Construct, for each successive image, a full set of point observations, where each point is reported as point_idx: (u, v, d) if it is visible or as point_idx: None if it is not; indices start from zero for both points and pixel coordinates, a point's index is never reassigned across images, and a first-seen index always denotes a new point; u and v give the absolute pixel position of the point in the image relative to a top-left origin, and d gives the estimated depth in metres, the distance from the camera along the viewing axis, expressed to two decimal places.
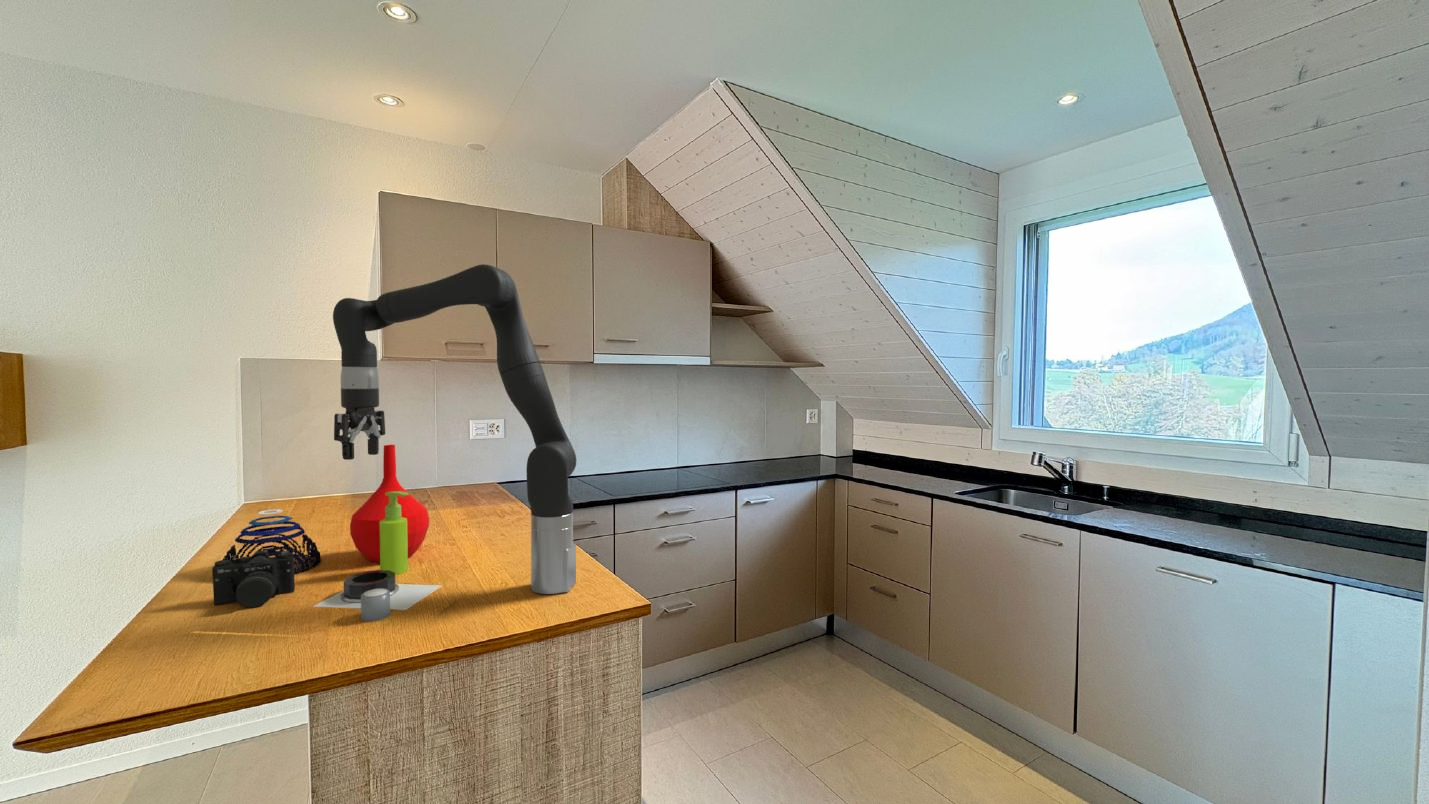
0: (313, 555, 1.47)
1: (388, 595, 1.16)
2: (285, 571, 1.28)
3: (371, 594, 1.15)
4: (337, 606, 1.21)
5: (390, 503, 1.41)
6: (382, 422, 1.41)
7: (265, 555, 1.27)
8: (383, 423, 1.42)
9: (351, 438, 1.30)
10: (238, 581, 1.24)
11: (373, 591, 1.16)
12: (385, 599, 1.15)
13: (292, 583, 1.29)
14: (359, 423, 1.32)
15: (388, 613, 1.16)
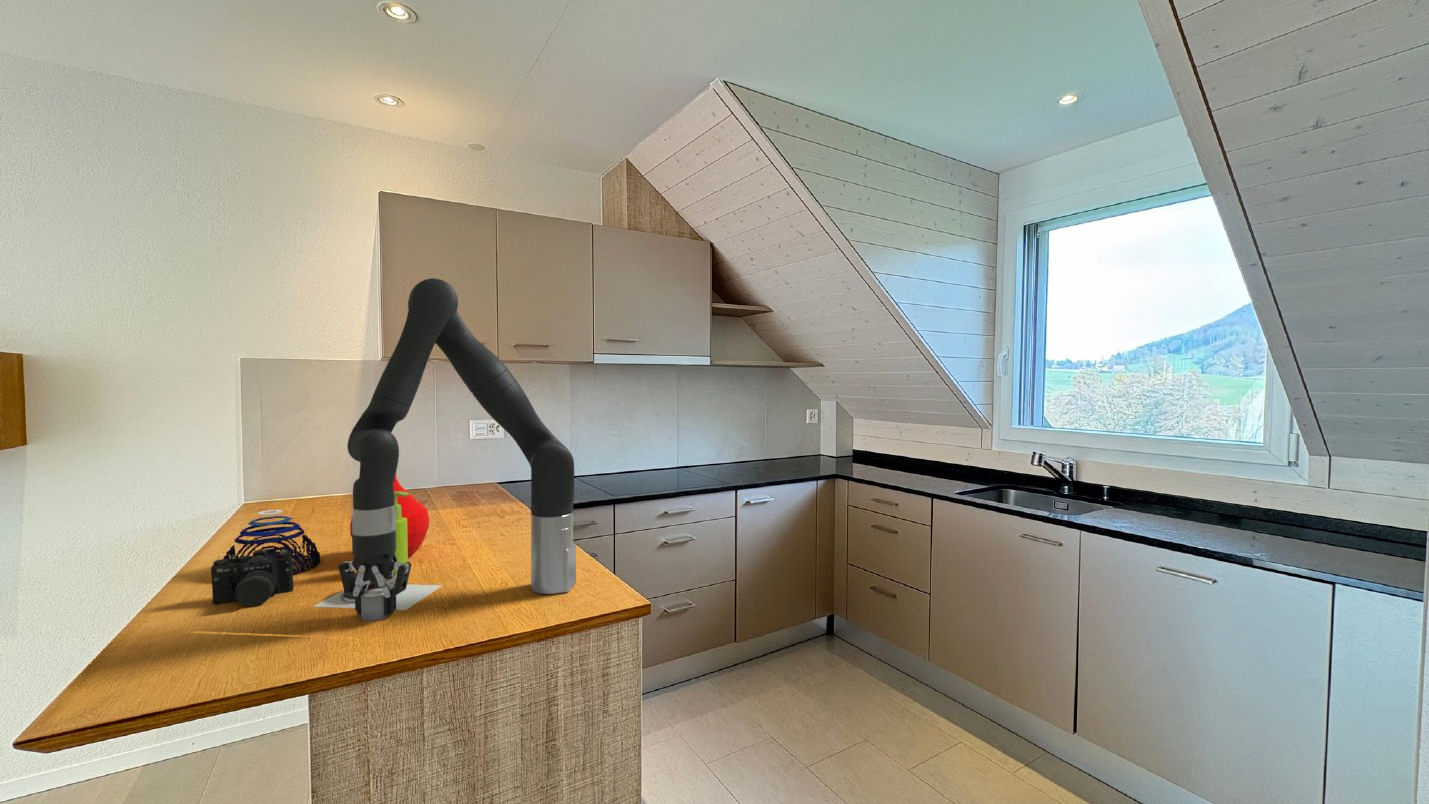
0: (313, 556, 1.47)
1: None
2: (284, 570, 1.28)
3: (371, 594, 1.15)
4: (337, 606, 1.21)
5: None
6: None
7: (264, 554, 1.27)
8: None
9: None
10: (237, 580, 1.24)
11: (373, 591, 1.16)
12: None
13: (291, 582, 1.29)
14: None
15: None
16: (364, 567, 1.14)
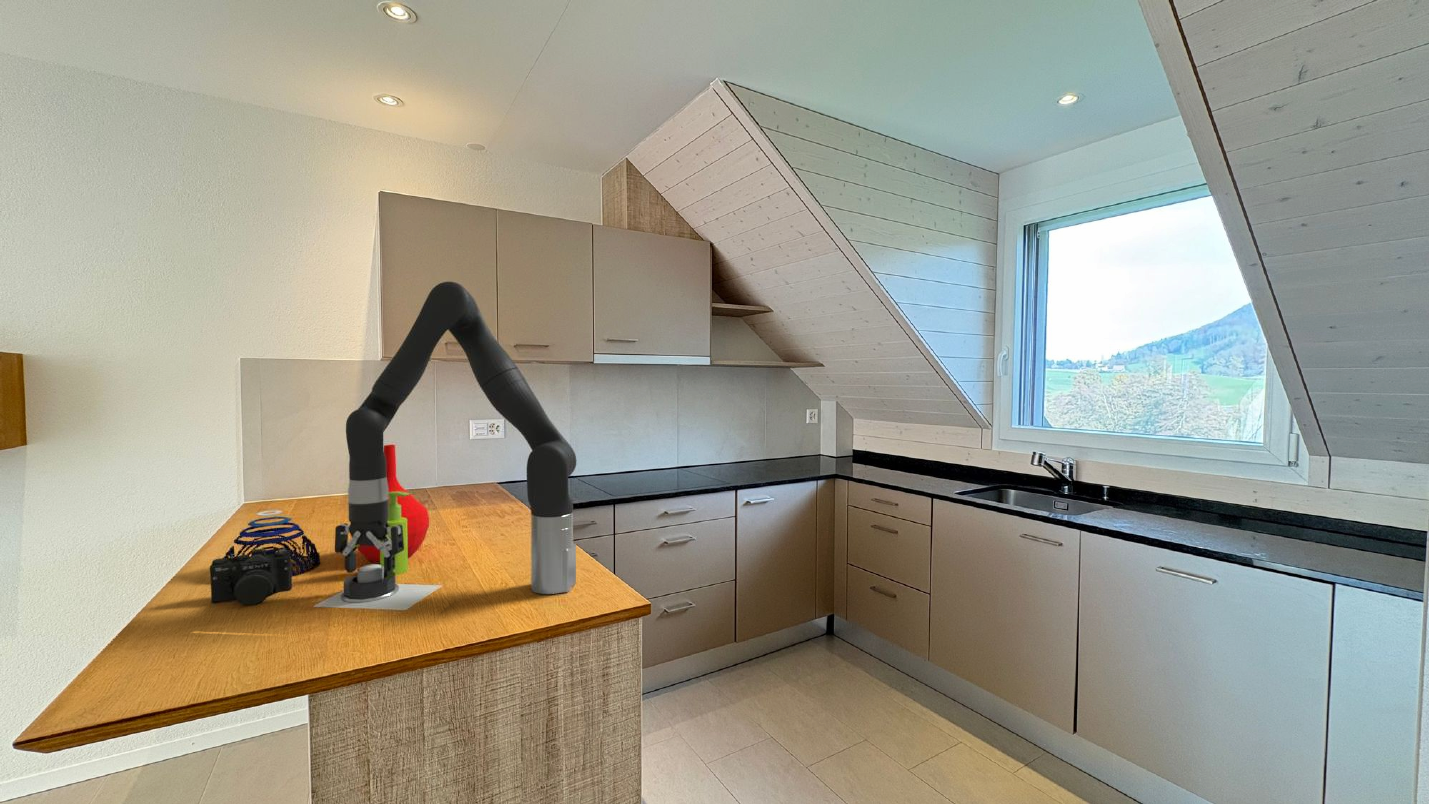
0: (312, 556, 1.46)
1: (382, 570, 1.28)
2: (282, 569, 1.29)
3: (366, 569, 1.27)
4: (337, 606, 1.21)
5: (390, 503, 1.41)
6: None
7: (262, 553, 1.28)
8: None
9: None
10: (236, 579, 1.25)
11: (368, 566, 1.28)
12: (379, 573, 1.27)
13: (289, 581, 1.30)
14: None
15: None
16: (360, 533, 1.26)
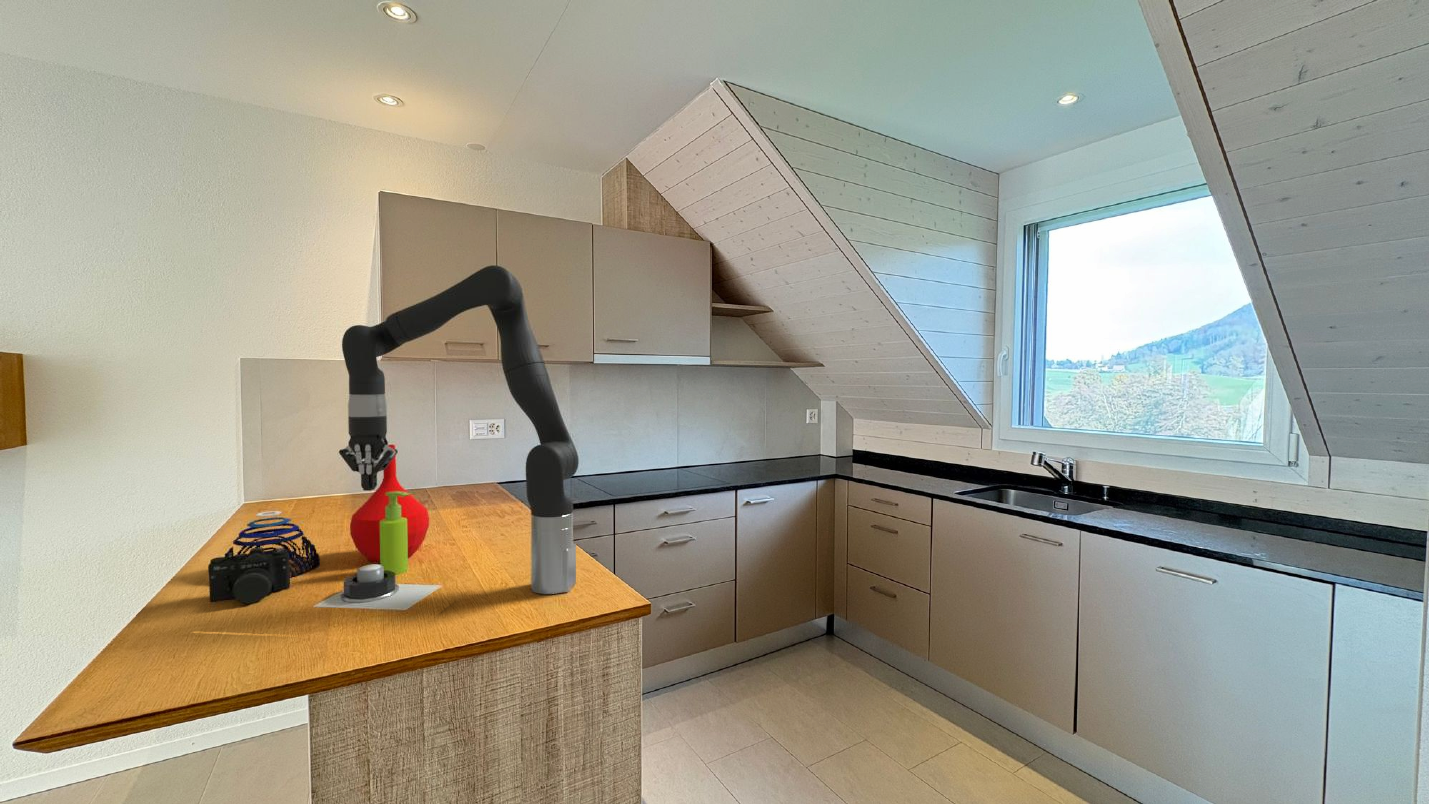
0: (312, 558, 1.45)
1: (382, 570, 1.28)
2: (281, 568, 1.30)
3: (366, 569, 1.27)
4: (337, 606, 1.21)
5: (390, 503, 1.41)
6: None
7: (261, 552, 1.29)
8: None
9: None
10: (234, 578, 1.26)
11: (368, 566, 1.28)
12: (379, 573, 1.27)
13: (288, 580, 1.31)
14: None
15: None
16: (358, 445, 1.31)
